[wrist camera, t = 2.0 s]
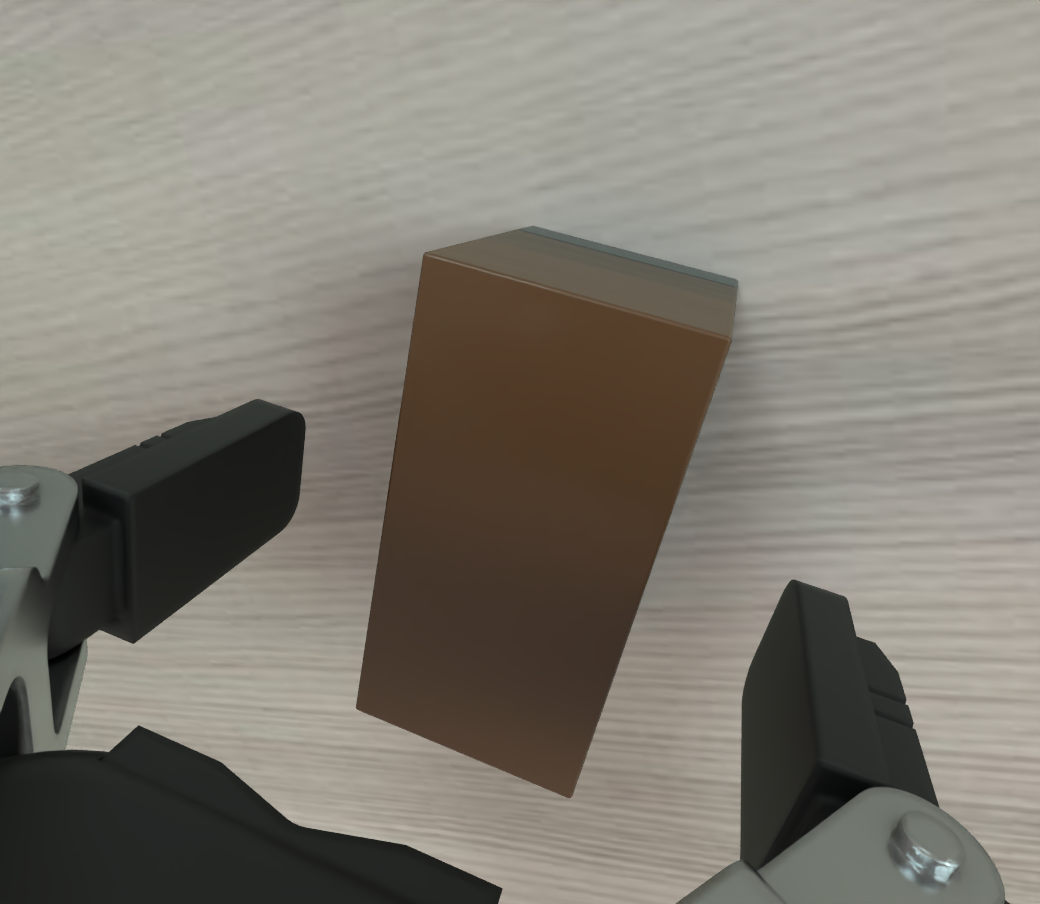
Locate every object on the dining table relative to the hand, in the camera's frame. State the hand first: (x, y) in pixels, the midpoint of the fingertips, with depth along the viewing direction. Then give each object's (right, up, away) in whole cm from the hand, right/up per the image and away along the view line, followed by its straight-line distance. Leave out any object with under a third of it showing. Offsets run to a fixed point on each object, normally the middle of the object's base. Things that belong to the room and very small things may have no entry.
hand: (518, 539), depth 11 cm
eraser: (+1, +2, +4) cm, 4 cm away
